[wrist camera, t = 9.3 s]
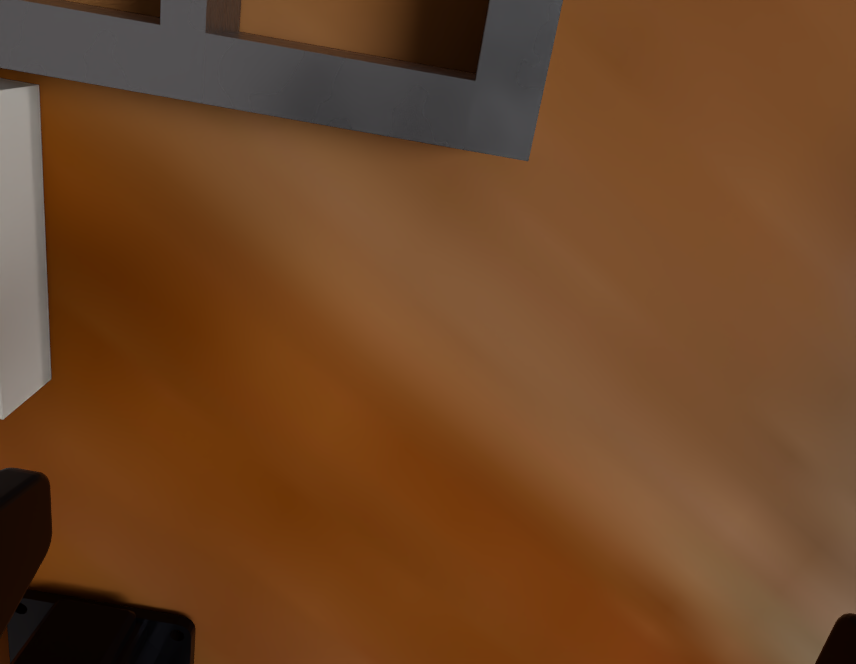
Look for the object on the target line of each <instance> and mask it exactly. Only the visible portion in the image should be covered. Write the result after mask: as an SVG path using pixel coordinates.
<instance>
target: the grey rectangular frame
mask: <svg viewBox="0 0 856 664" xmlns="http://www.w3.org/2000/svg"><path fill="white" fill-rule="evenodd" d="M562 2H563V0H489V3H488V8H487V14H486V19H485V25H484V31H483V36H482V42H481V47H480V53H479V58H478V64H477V70H476V74H474V73H469V72H463V71H458V70H452V69H446V68H441V67H435V66H430V65H424V64H418V63H413V62H407V61H401V60H396V59H390V58H385V57H379V56H373V55H368V54H362V53H356V52H351V51H345V50H340V49H334V48H328V47H323V46H317V45H311V44H306V43H300V42H295V41H289V40H283V39H278V38H272V37H266V36H261V35H255V34H250V33H244V32H239V27H240V10H241V0H161V13H160V17H154V16H148V15H143V14H137V13H131V12H126V11H120V10H115V9H109V8H103V7H98V6H92V5H86V4H81V3H75V2H70V1H64V0H0V68H5V69H11V70H16V71H22V72H28V73H33V74H39V75H45V76H50V77H56V78H62V79H67V80H73V81H79V82H84V83H90V84H95V85H101V86H107V87H112V88H118V89H124V90H129V91H135V92H141V93H146V94H152V95H158V96H163V97H169V98H174V99H180V100H186V101H191V102H197V103H203V104H208V105H214V106H220V107H225V108H231V109H237V110H242V111H248V112H254V113H259V114H265V115H270V116H276V117H282V118H287V119H293V120H299V121H304V122H310V123H316V124H321V125H327V126H333V127H338V128H344V129H349V130H355V131H361V132H366V133H372V134H378V135H383V136H389V137H395V138H400V139H406V140H412V141H417V142H423V143H429V144H434V145H440V146H445V147H451V148H457V149H462V150H468V151H474V152H479V153H485V154H491V155H496V156H502V157H508V158H513V159H519V160H524V161H528V160H529V155H530V150H531V146H532V141H533V136H534V132H535V127H536V122H537V118H538V113H539V109H540V104H541V99H542V95H543V90H544V85H545V81H546V76H547V71H548V67H549V62H550V57H551V53H552V48H553V43H554V39H555V34H556V29H557V25H558V20H559V16H560V11H561V6H562Z"/></svg>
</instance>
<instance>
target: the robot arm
mask: <svg viewBox="0 0 856 664" xmlns="http://www.w3.org/2000/svg"><path fill="white" fill-rule="evenodd" d="M51 537H52V518H51V495H50V483H49V480H48V478H47V476H46V475H44V474H43V473H41V472H36V471H30V470H24V469H18V468H6V469H2V470H0V638H1V636H2V634H3V632H4V630H5V629H6V627H7V628H8V641H9V653H10V664H194V647H195V625H194V624H193V622H192V621H191V620H190V619H188V618H186V617H183V616H178V615H173V614H167V613H161V612H155V611H149V610H144V609H138V608H132V607H126V606H120V605H115V604H109V603H103V602H97V601H91V600H86V599H80V598H74V597H68V596H63V595H57V594H51V593H45V592H39V591H34V590H28V587H29V585H30V583H31V581H32V579H33V578H34V576H35V574H36V572H37V570H38V569H39V567H40V565H41V563H42V561H43V560H44V558H45V556H46V554H47V551H48V549H49V546H50V542H51ZM23 604H24V605H23ZM177 630H179V631H181V632H179V631H177ZM815 664H856V614H852V613H848V614H844V615H842V616H841V617H840V618H838V620H837V621H836V623H835V625H834V627H833V629H832V631H831V633H830V635H829V637H828V639H827V641H826V643H825V645H824V647H823V649H822V651H821V653H820V655H819V657H818V659H817V661H816V663H815Z"/></svg>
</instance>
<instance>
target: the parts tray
mask: <svg viewBox="0 0 856 664" xmlns="http://www.w3.org/2000/svg"><path fill="white" fill-rule="evenodd" d="M50 380H51V360H50V335H49V311H48V287H47V263H46V239H45V215H44V190H43V166H42V142H41V118H40V94H39V85H37V84H32V83H26V82H20V81H15V80H9V79H3V78H0V419H4V418H6V417H7V416H8V415H9V414H10V413H12V412H13V411H14V410H15V409H16V408H18V407H19V406H20V405H21V404H22V403H23V402H25V401H26V400H27V399H28V398H29V397H31V396H32V395H33V394H34V393H35V392H37V391H38V390H39V389H40V388H41V387H43V386H44V385H45V384H46V383H47V382H49V381H50Z"/></svg>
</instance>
